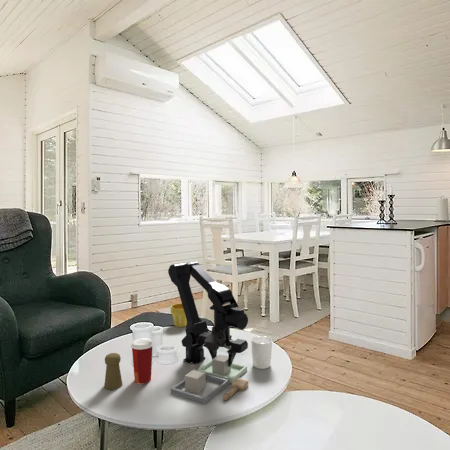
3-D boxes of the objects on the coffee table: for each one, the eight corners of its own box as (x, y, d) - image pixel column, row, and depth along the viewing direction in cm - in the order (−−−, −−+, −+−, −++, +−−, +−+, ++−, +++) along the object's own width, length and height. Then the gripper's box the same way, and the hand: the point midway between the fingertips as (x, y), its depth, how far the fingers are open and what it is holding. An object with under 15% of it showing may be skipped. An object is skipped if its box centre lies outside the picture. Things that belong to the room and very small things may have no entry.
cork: (106, 391, 127) (105, 359, 127) (102, 383, 133) (101, 352, 132) (124, 387, 130) (123, 355, 129) (120, 379, 136) (119, 349, 135)
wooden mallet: (229, 403, 120) (229, 397, 120) (218, 399, 122) (218, 394, 122) (248, 385, 131) (248, 380, 131) (238, 382, 133) (238, 377, 133)
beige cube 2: (185, 390, 128) (184, 375, 128) (193, 383, 133) (193, 369, 132) (197, 393, 126) (197, 378, 126) (205, 387, 130) (205, 372, 130)
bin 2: (196, 373, 140) (196, 369, 140) (213, 361, 150) (213, 358, 150) (231, 383, 133) (231, 379, 132) (247, 370, 142) (247, 366, 142)
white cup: (271, 370, 142) (271, 344, 142) (250, 368, 144) (249, 342, 143) (272, 361, 150) (272, 336, 149) (252, 360, 152) (252, 335, 151)
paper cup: (157, 377, 138) (157, 338, 137) (146, 387, 130) (146, 346, 129) (138, 373, 140) (138, 336, 139) (127, 383, 133) (126, 344, 132)
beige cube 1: (219, 367, 144) (219, 354, 144) (230, 370, 142) (230, 357, 142) (212, 372, 140) (212, 359, 140) (224, 375, 138) (224, 361, 137)
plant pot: (191, 328, 189) (190, 308, 188) (169, 328, 188) (169, 309, 188) (192, 321, 199) (191, 302, 199) (171, 321, 199) (171, 303, 198)
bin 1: (170, 392, 126) (170, 388, 126) (196, 375, 139) (196, 371, 139) (205, 404, 119) (205, 399, 119) (228, 384, 132) (228, 380, 132)
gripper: (188, 325, 138) (188, 367, 139) (233, 334, 128) (233, 379, 129) (205, 316, 147) (205, 356, 148) (248, 324, 138) (248, 367, 139)
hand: (222, 364), depth 141 cm, fingers open, 6 cm apart
